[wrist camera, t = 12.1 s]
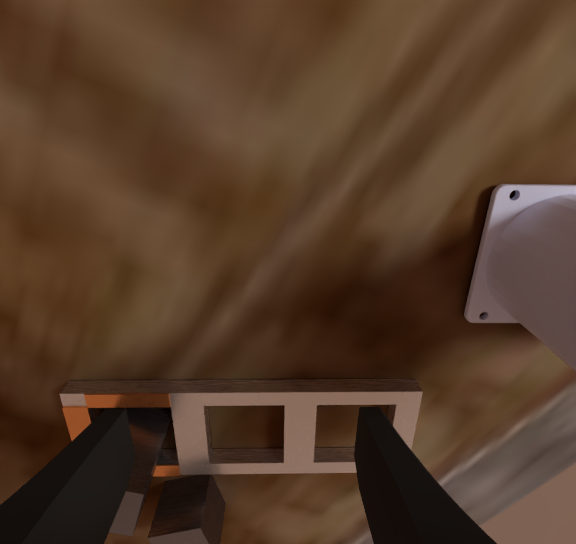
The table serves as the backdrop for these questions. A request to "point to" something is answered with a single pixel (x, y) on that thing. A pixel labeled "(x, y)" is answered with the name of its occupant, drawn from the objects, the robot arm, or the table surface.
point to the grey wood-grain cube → (189, 512)
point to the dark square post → (141, 462)
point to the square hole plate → (202, 393)
